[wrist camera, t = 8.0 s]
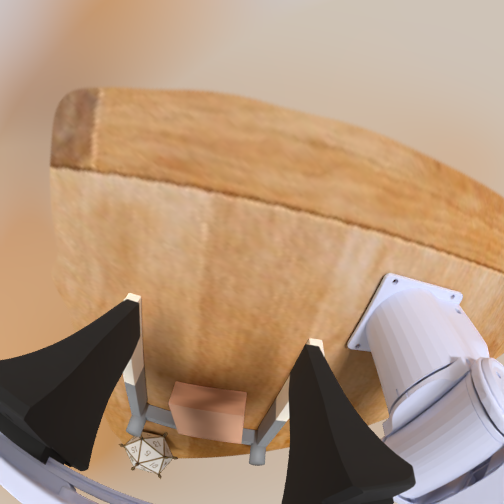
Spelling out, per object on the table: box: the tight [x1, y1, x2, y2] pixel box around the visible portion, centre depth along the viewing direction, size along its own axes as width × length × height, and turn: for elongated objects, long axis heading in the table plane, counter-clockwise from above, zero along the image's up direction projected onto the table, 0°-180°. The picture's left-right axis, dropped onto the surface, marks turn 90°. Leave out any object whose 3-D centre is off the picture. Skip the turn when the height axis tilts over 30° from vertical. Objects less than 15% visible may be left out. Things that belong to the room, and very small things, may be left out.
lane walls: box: [123, 293, 325, 421], centre depth 24 cm, size 17×10×3 cm, turn 77°
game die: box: [119, 431, 178, 478], centre depth 32 cm, size 9×8×10 cm
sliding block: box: [168, 382, 247, 444], centre depth 28 cm, size 8×8×4 cm
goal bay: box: [125, 367, 287, 466], centre depth 27 cm, size 18×11×5 cm, turn 77°
